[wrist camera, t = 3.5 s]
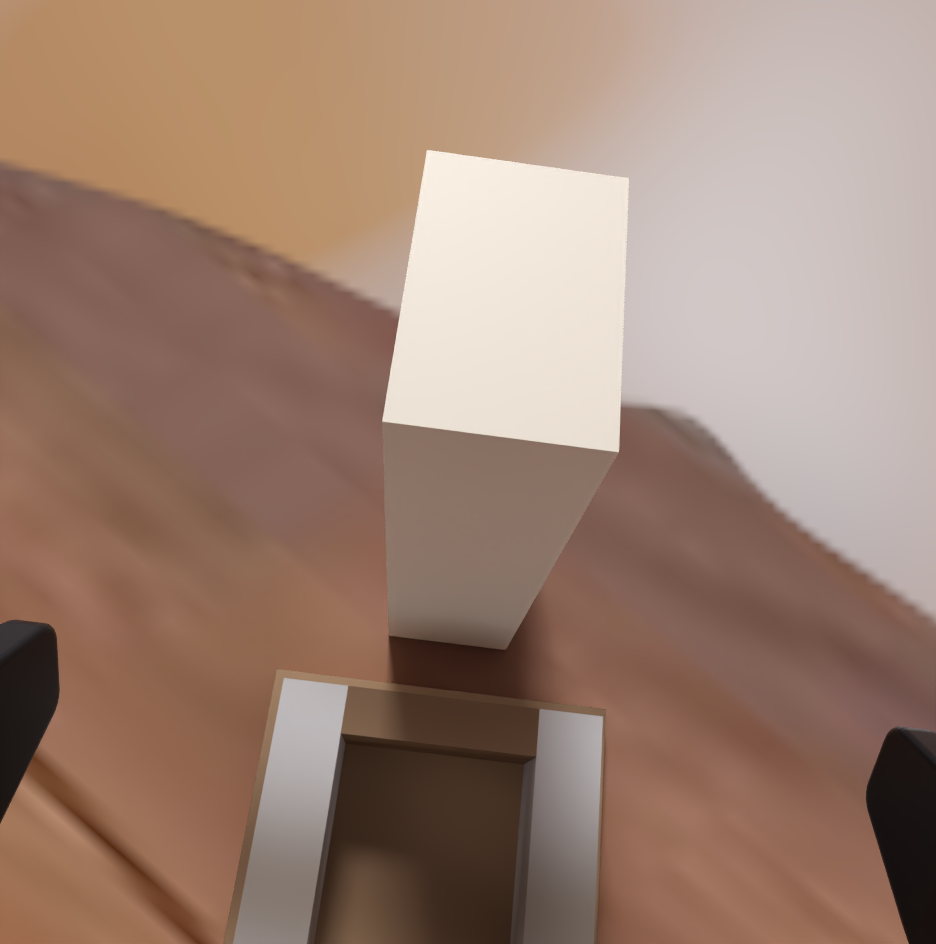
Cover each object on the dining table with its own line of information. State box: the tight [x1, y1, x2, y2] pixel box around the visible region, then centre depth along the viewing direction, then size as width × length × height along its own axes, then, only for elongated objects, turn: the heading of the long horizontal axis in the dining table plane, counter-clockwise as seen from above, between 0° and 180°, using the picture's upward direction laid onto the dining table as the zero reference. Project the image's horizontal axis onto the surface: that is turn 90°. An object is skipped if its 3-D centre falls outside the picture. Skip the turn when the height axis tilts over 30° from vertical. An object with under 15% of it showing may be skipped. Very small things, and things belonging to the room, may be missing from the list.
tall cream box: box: [382, 150, 629, 650], centre depth 17 cm, size 4×3×12 cm, turn 174°
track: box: [223, 669, 606, 944], centre depth 18 cm, size 10×8×3 cm
